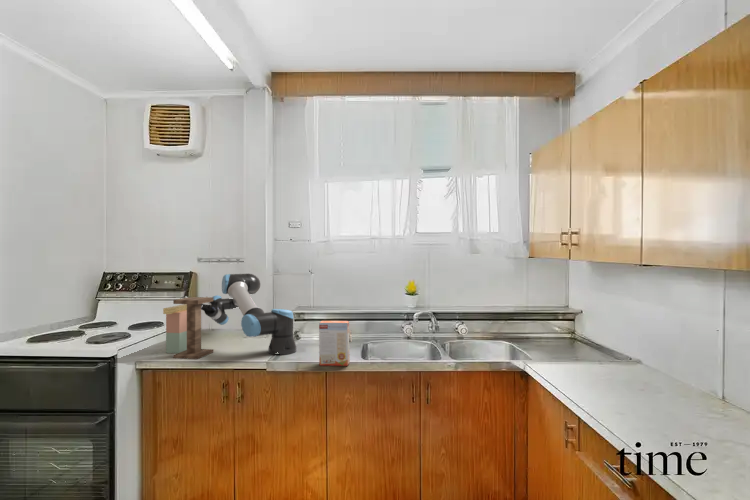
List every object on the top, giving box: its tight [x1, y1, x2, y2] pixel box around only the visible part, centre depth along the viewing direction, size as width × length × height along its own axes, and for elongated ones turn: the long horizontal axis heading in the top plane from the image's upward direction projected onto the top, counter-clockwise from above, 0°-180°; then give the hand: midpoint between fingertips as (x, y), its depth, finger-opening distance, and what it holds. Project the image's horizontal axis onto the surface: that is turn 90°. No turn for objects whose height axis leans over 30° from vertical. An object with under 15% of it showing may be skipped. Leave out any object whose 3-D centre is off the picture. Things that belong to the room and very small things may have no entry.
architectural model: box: [349, 329, 353, 343], centre depth 240 cm, size 3×7×7 cm, turn 72°
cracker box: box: [318, 320, 351, 367], centre depth 191 cm, size 14×6×21 cm, turn 84°
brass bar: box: [162, 304, 187, 315], centre depth 220 cm, size 4×22×3 cm, turn 171°
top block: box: [165, 310, 187, 334], centre depth 219 cm, size 8×10×11 cm
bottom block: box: [165, 331, 187, 354], centre depth 218 cm, size 8×10×11 cm
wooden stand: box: [172, 296, 214, 360], centre depth 209 cm, size 14×14×30 cm
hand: (195, 298), depth 234 cm, fingers open, 13 cm apart
